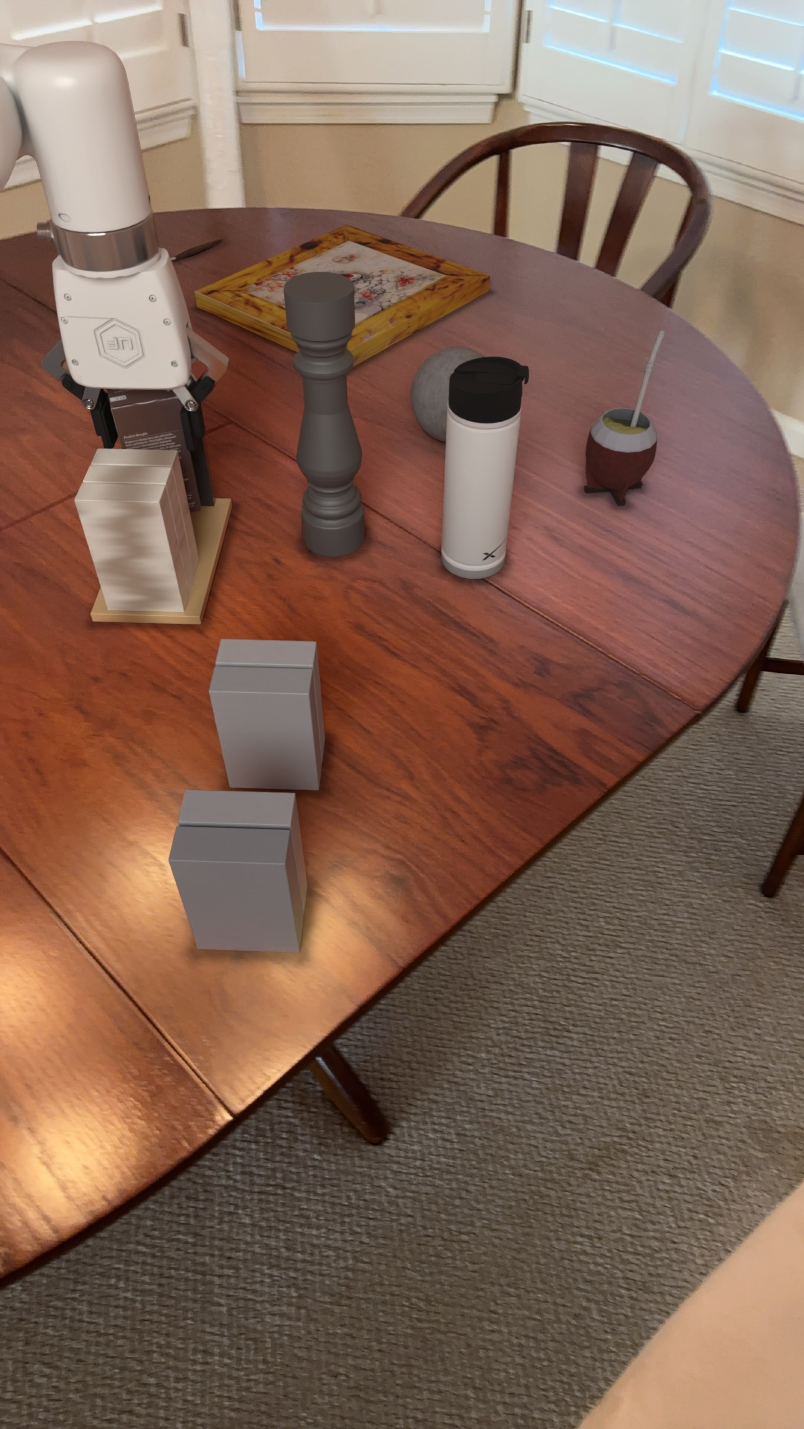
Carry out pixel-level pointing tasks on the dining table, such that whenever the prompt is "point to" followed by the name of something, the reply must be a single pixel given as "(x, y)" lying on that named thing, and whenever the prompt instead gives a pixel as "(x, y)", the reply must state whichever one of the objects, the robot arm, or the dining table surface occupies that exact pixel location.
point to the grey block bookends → (253, 800)
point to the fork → (196, 249)
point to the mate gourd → (622, 445)
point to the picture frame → (387, 289)
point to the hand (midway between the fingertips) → (153, 440)
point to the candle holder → (326, 411)
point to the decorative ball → (436, 388)
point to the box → (154, 428)
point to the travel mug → (480, 464)
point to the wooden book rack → (151, 535)
